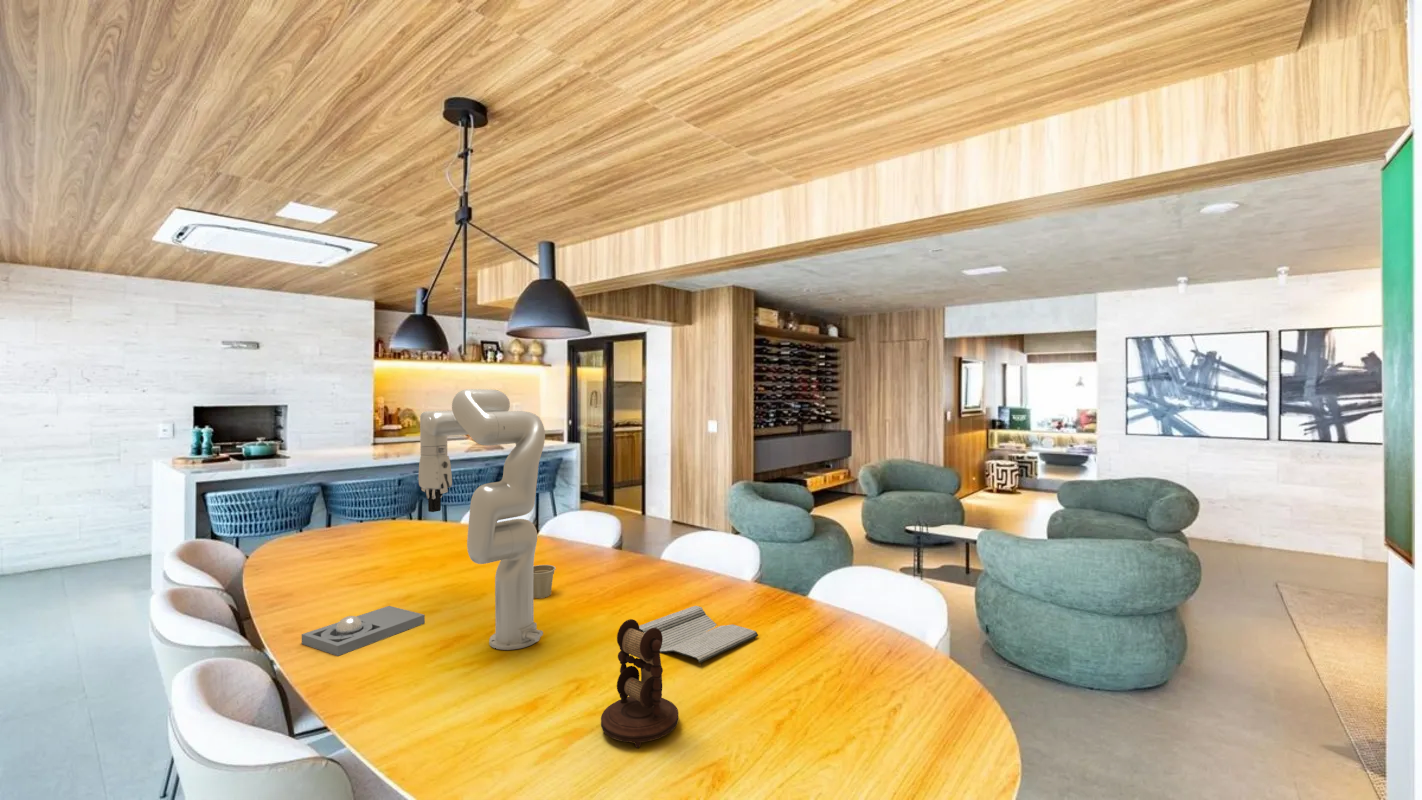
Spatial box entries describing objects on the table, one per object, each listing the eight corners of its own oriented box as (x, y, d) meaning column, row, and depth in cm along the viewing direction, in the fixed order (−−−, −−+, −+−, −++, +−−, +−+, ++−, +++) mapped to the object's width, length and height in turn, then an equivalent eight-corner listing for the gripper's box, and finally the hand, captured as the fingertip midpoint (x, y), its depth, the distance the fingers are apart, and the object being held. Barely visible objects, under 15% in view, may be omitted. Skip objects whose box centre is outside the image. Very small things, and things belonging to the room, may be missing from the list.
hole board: (424, 623, 169) (424, 614, 169) (337, 656, 148) (337, 645, 148) (389, 614, 176) (389, 605, 176) (301, 643, 155) (301, 634, 155)
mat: (699, 670, 140) (699, 650, 140) (632, 644, 155) (632, 626, 155) (758, 640, 157) (758, 622, 157) (693, 619, 172) (692, 602, 172)
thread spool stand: (694, 725, 115) (693, 622, 115) (636, 760, 104) (635, 646, 104) (643, 700, 125) (642, 605, 125) (585, 730, 114) (584, 625, 114)
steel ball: (328, 638, 154) (336, 635, 160) (352, 643, 155) (360, 640, 161) (337, 614, 156) (345, 612, 161) (361, 619, 157) (369, 617, 162)
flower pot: (537, 602, 186) (537, 574, 186) (519, 596, 191) (519, 569, 191) (561, 594, 193) (561, 567, 193) (543, 589, 199) (543, 563, 199)
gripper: (461, 451, 183) (461, 511, 183) (428, 449, 190) (429, 507, 190) (439, 453, 176) (440, 515, 176) (407, 451, 183) (407, 511, 183)
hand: (434, 511), depth 183 cm, fingers closed
